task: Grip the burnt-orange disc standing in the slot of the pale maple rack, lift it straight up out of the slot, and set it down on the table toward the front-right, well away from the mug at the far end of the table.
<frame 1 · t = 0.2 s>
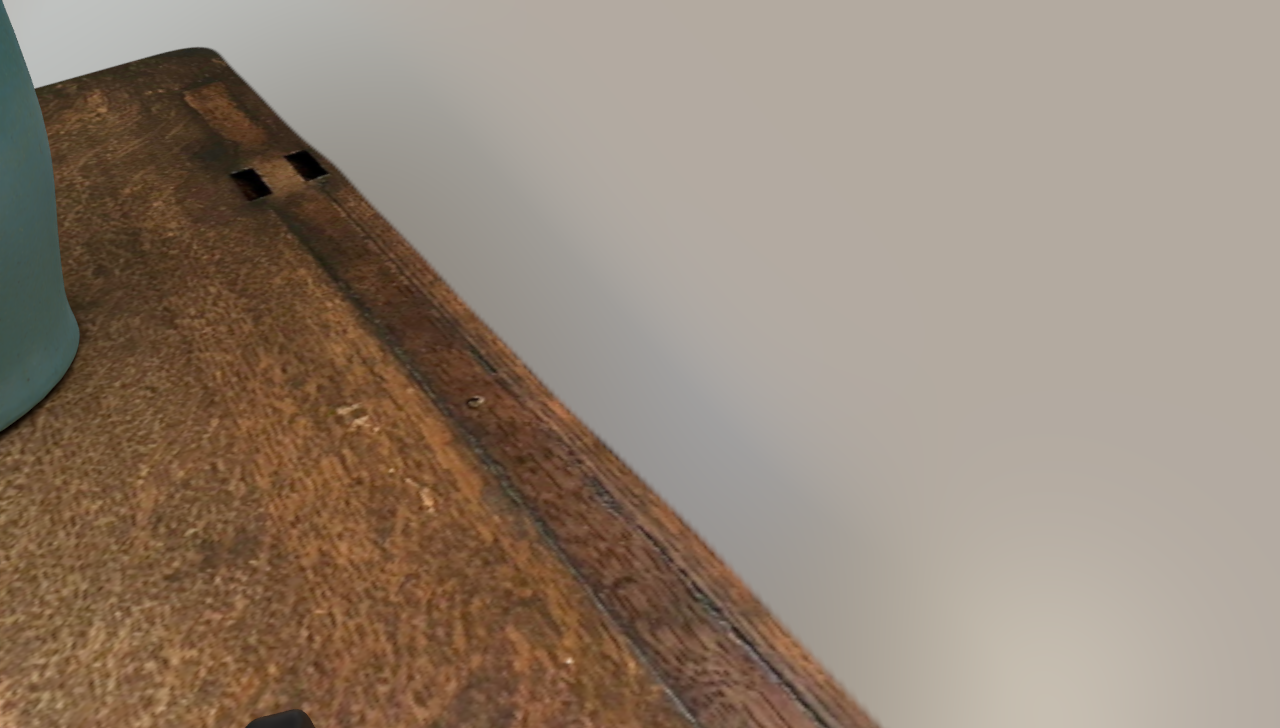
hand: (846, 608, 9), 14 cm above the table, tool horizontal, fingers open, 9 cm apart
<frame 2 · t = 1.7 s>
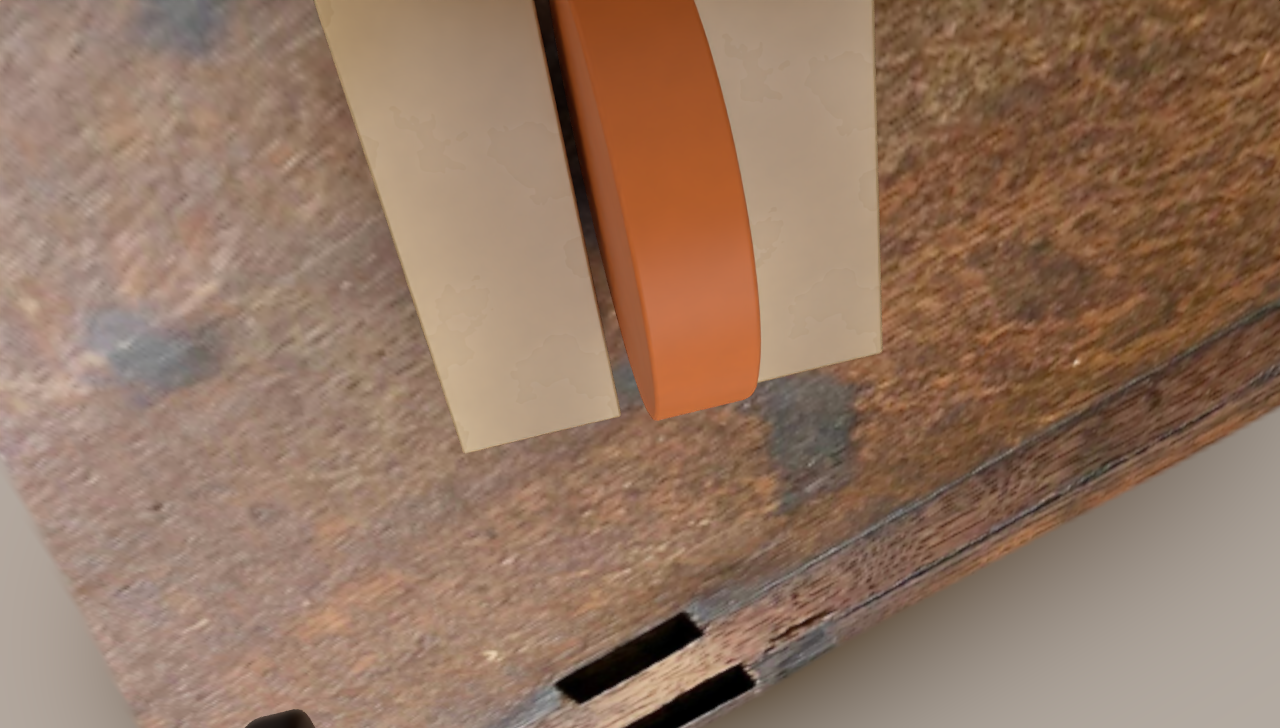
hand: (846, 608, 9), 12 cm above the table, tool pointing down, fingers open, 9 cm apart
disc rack: (609, 104, 19), on the table
disc: (609, 104, 19), on the table
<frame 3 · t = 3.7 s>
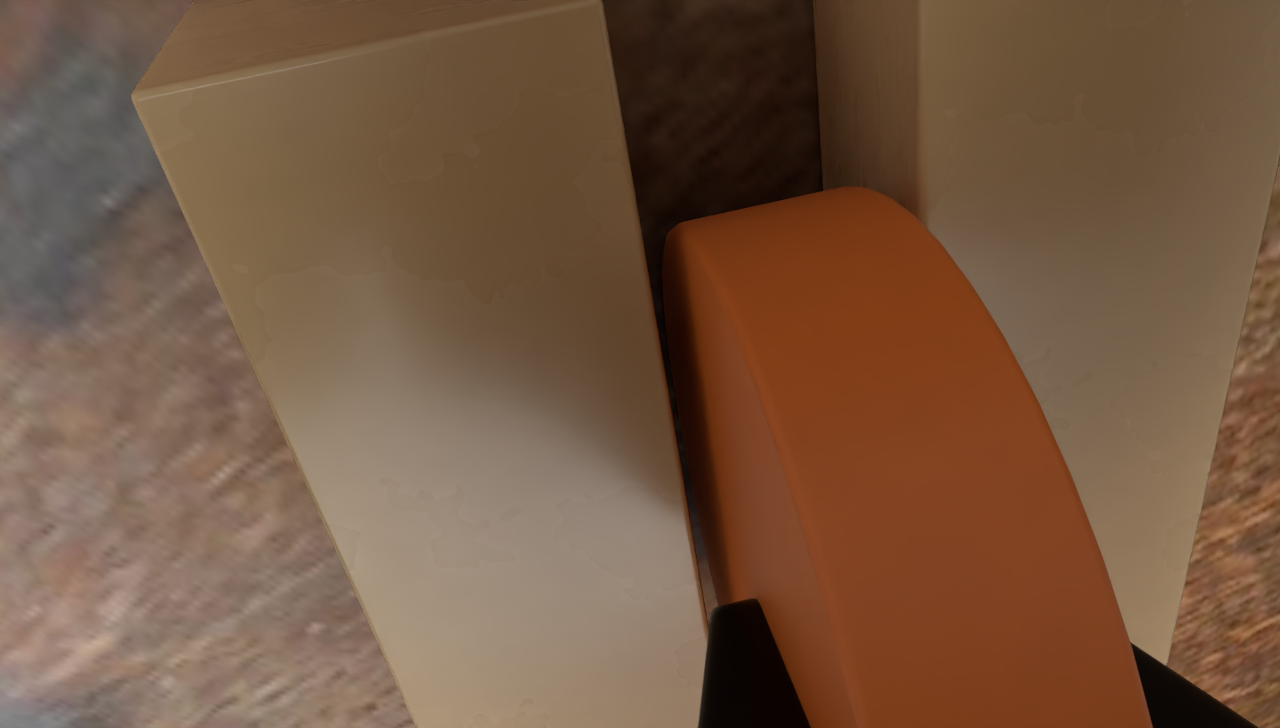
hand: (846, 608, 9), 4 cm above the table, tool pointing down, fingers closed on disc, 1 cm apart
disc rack: (738, 372, 12), on the table
disc: (738, 371, 12), on the table, touching gripper
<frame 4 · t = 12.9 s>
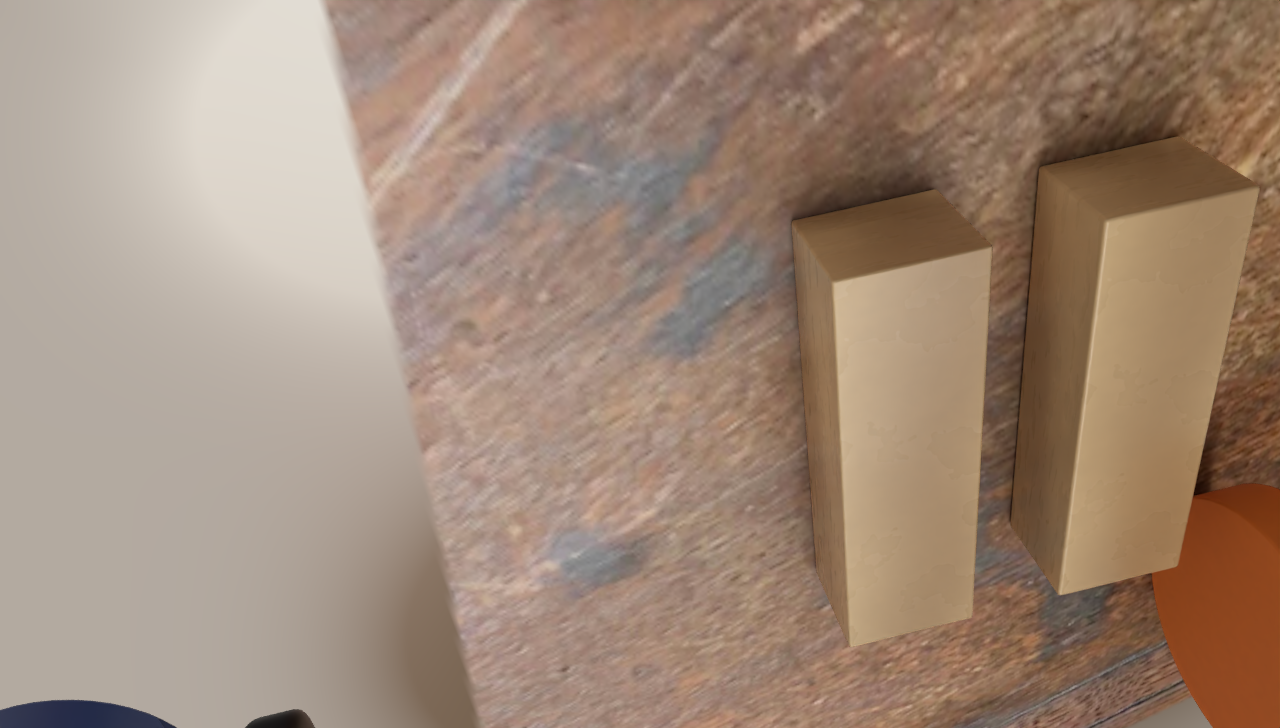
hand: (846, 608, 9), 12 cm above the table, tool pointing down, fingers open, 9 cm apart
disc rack: (977, 377, 23), on the table
disc: (1186, 512, 27), on the table, tilted 14°
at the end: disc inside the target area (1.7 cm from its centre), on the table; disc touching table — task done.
